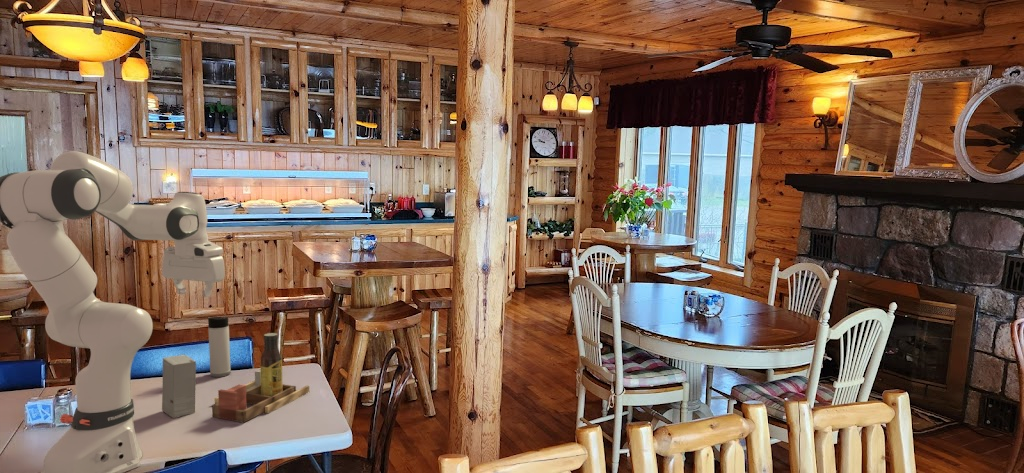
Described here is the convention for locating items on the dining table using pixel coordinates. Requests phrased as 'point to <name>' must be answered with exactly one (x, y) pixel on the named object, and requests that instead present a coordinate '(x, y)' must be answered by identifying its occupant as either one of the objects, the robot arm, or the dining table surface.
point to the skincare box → (178, 385)
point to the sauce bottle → (271, 367)
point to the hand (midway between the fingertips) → (194, 295)
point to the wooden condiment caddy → (237, 397)
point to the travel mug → (219, 346)
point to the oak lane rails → (281, 401)
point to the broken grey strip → (256, 379)
